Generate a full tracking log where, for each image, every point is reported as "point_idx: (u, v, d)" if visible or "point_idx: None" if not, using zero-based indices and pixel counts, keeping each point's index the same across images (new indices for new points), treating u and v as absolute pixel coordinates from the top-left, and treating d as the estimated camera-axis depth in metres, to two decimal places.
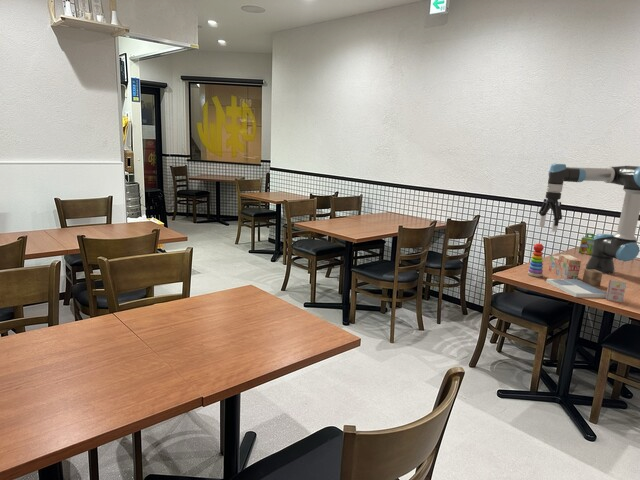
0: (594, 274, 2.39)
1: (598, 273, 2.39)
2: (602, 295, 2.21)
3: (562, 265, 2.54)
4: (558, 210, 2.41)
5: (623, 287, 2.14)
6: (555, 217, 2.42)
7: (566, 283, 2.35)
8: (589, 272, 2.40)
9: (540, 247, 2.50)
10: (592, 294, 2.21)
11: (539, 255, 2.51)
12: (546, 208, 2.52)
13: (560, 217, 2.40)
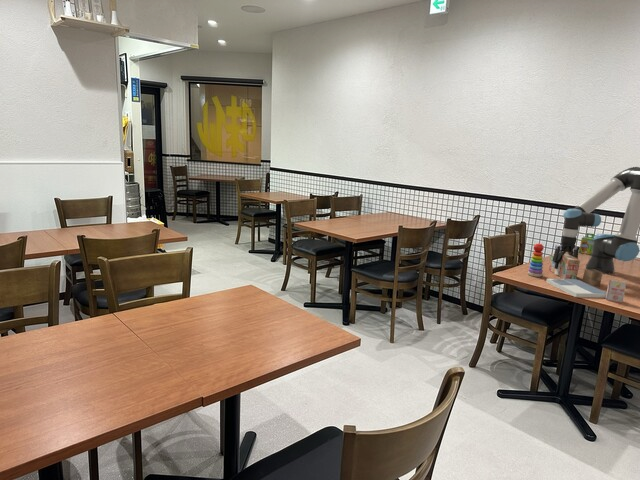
0: (594, 274, 2.39)
1: (598, 273, 2.39)
2: (602, 295, 2.21)
3: (562, 265, 2.54)
4: (555, 253, 2.56)
5: (623, 287, 2.14)
6: None
7: (566, 283, 2.35)
8: (589, 272, 2.40)
9: (540, 247, 2.50)
10: (592, 294, 2.21)
11: (539, 255, 2.51)
12: (568, 253, 2.57)
13: (554, 260, 2.56)
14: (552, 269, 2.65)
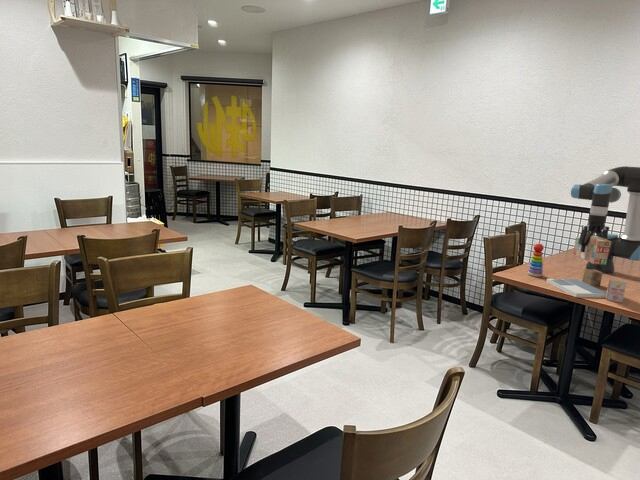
0: (594, 274, 2.39)
1: (598, 273, 2.39)
2: (602, 295, 2.21)
3: (589, 247, 2.25)
4: (581, 234, 2.27)
5: (623, 287, 2.14)
6: None
7: (566, 283, 2.35)
8: (589, 272, 2.40)
9: (540, 247, 2.50)
10: (592, 294, 2.21)
11: (539, 255, 2.51)
12: (596, 234, 2.28)
13: (580, 242, 2.27)
14: (577, 253, 2.36)
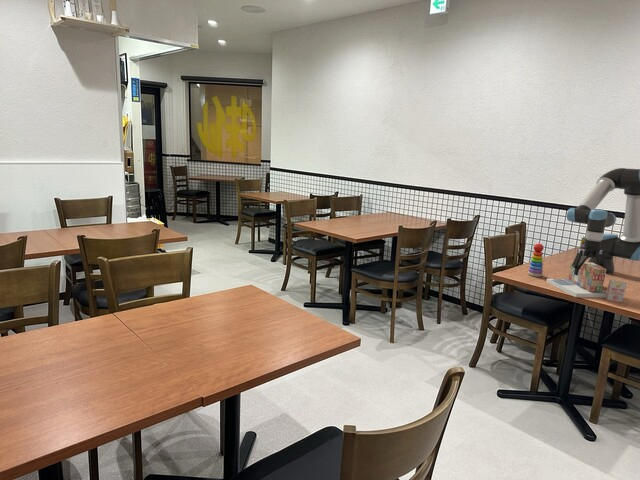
0: None
1: None
2: (602, 295, 2.21)
3: (585, 274, 2.28)
4: (576, 258, 2.29)
5: (623, 287, 2.14)
6: None
7: (566, 283, 2.35)
8: None
9: (540, 247, 2.50)
10: (592, 294, 2.21)
11: (539, 255, 2.51)
12: (593, 258, 2.31)
13: (574, 265, 2.29)
14: (573, 278, 2.39)
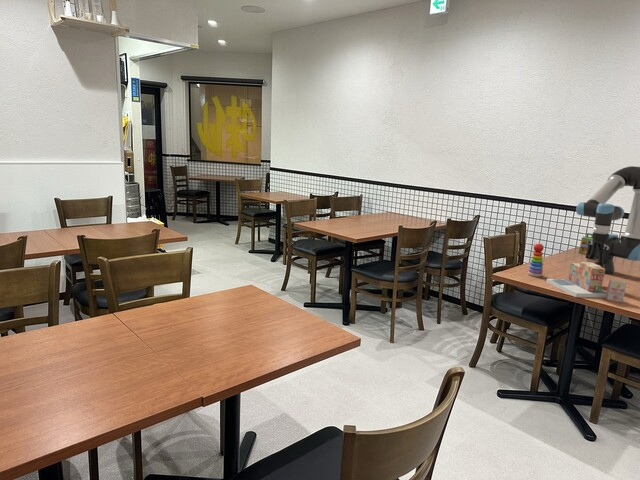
0: (596, 264, 2.38)
1: None
2: (602, 295, 2.21)
3: (584, 274, 2.28)
4: (605, 255, 2.33)
5: (623, 287, 2.14)
6: (600, 262, 2.36)
7: (566, 283, 2.35)
8: None
9: (540, 247, 2.50)
10: (592, 294, 2.21)
11: (539, 255, 2.51)
12: (593, 250, 2.41)
13: (605, 262, 2.34)
14: (572, 278, 2.39)
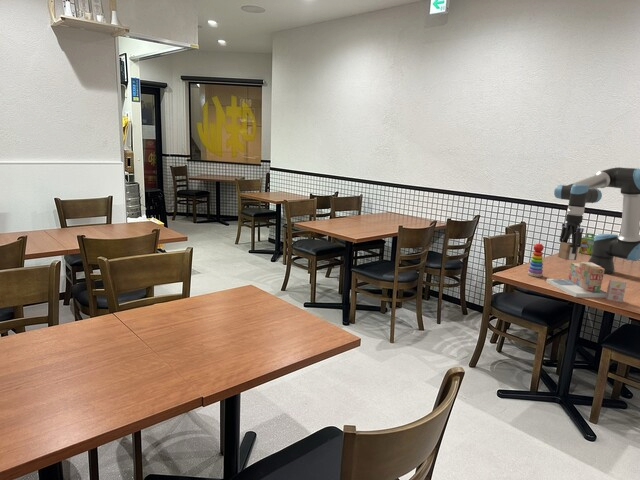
0: (570, 247, 2.29)
1: None
2: (602, 295, 2.21)
3: (583, 274, 2.28)
4: (578, 237, 2.25)
5: (623, 287, 2.14)
6: (573, 245, 2.27)
7: (566, 283, 2.35)
8: (565, 245, 2.31)
9: (540, 247, 2.50)
10: (592, 294, 2.21)
11: (539, 255, 2.51)
12: (567, 233, 2.33)
13: (578, 245, 2.26)
14: (572, 278, 2.39)
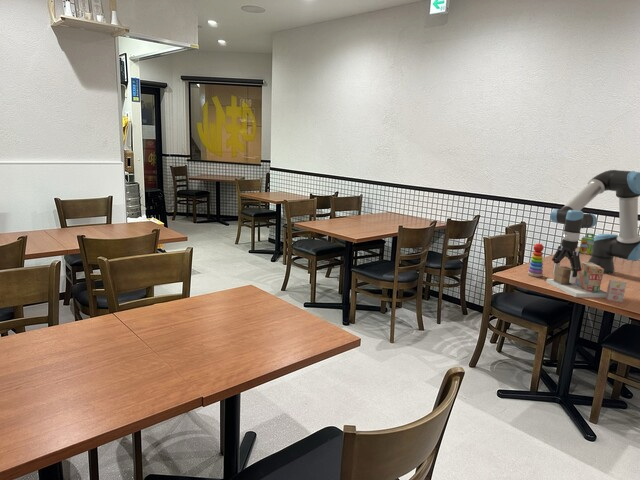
0: (565, 271, 2.32)
1: (569, 270, 2.32)
2: (602, 295, 2.21)
3: (583, 274, 2.29)
4: (577, 261, 2.26)
5: (623, 287, 2.14)
6: (573, 268, 2.27)
7: None
8: (560, 269, 2.34)
9: (540, 247, 2.50)
10: (592, 294, 2.21)
11: (539, 255, 2.51)
12: (561, 256, 2.37)
13: (579, 268, 2.25)
14: None
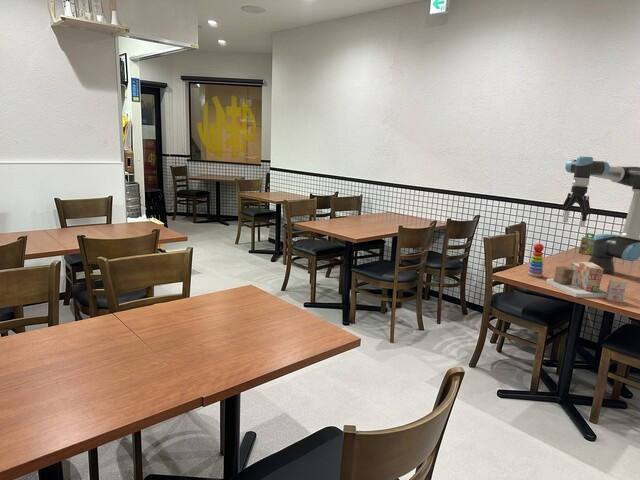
0: (565, 271, 2.32)
1: (569, 270, 2.32)
2: (602, 295, 2.21)
3: (582, 274, 2.29)
4: (586, 205, 2.32)
5: (623, 287, 2.14)
6: (583, 212, 2.33)
7: None
8: (560, 269, 2.34)
9: (540, 247, 2.50)
10: (592, 294, 2.21)
11: (539, 255, 2.51)
12: (571, 203, 2.44)
13: (589, 212, 2.32)
14: None
